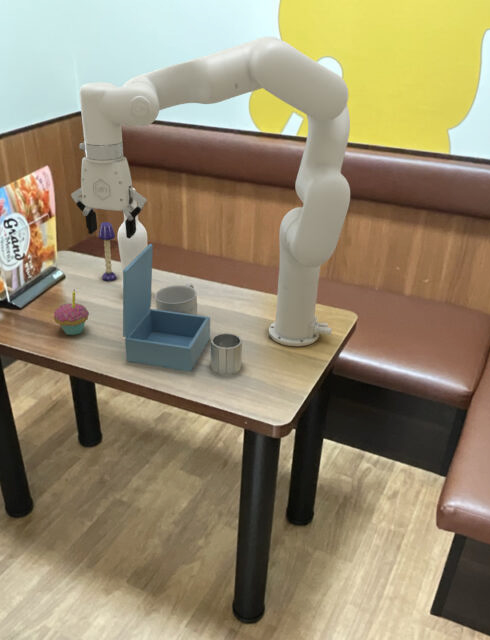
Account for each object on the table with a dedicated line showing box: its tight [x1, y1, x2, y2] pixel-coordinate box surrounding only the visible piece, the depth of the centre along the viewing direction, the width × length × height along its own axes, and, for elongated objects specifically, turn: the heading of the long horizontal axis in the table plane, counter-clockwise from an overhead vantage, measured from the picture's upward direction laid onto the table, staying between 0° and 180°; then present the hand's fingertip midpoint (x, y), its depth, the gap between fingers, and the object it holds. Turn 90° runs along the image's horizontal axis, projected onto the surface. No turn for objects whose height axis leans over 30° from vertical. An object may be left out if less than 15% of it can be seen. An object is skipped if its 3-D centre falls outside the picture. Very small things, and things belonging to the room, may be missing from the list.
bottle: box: [117, 187, 148, 295], centre depth 162 cm, size 8×8×30 cm
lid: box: [122, 243, 154, 338], centre depth 138 cm, size 16×16×1 cm
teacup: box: [154, 282, 198, 315], centre depth 157 cm, size 14×11×8 cm
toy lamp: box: [98, 221, 118, 282], centre depth 176 cm, size 5×5×17 cm
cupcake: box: [53, 288, 90, 336], centre depth 151 cm, size 9×8×12 cm
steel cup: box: [210, 332, 243, 375], centre depth 137 cm, size 7×7×8 cm
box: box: [124, 308, 211, 373], centre depth 144 cm, size 16×16×7 cm
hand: (111, 233), depth 132 cm, fingers open, 8 cm apart
